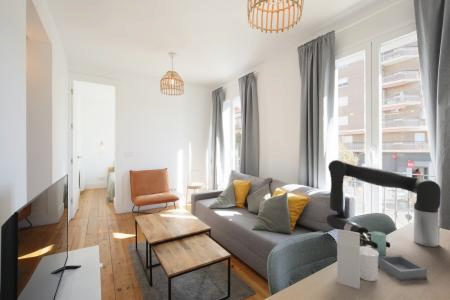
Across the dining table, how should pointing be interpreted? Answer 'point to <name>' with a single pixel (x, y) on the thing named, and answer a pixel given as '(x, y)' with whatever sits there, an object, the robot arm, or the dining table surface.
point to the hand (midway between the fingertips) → (383, 245)
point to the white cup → (368, 263)
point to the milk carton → (348, 258)
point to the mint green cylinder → (379, 242)
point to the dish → (402, 268)
